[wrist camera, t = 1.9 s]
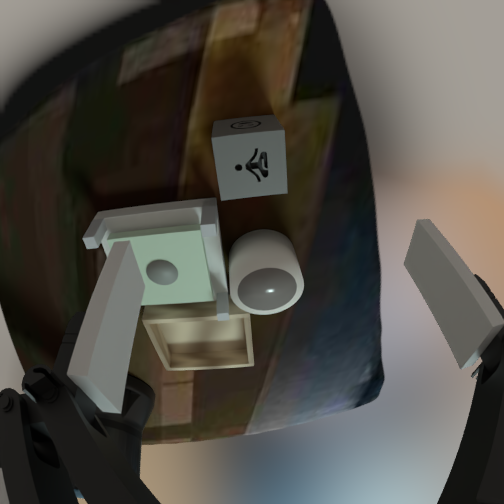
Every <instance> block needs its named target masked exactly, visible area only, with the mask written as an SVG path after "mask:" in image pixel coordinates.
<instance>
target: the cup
mask: <svg viewBox="0 0 504 504" xmlns="http://www.w3.org/2000/svg"><path fill="white" fill-rule="evenodd" d="M229 278H230V295H231V298H232V300H233V302H234V303H235V304H236V305H237V306H238V307H239V308H240V309H242V310H244V311H246V312H249V313H253V314H262V315H264V314H273V313H277V312H280V311H283V310H285V309H287V308H289V307H290V306H292V305H293V304H294V303H295V302H296V301H297V300H298V299H299V298H300V296H301V294H302V292H303V289H304V281H303V277H302V274H301V270H300V267H299V264H298V260H297V257H296V254H295V250H294V247H293V244H292V243H291V241H290V240H289V239H288V238H287V237H286V236H285V235H283V234H282V233H280V232H277V231H274V230H267V229H261V230H255V231H251V232H248V233H246V234H244V235H243V236H241V237H240V238H238V239H237V240H236V241H235V242H234V244H233V245H232V247H231V249H230V252H229Z"/></svg>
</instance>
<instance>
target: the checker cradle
mask: <svg viewBox="0 0 504 504" xmlns="http://www.w3.org/2000/svg"><path fill="white" fill-rule="evenodd" d="M194 224H200V226H201V232H202V237H203V239H204V245H205V250H206V256H207V262H208V267H209V273H210V278H211V283H212V289H213V294H214V297H213V301H217V318H218V321H225V320H229V295H228V284H227V277H226V270H225V263H224V255H223V248H222V240H221V232H220V225H219V217H218V209H217V201H216V197H215V198H205V199H195V200H186V201H176V202H168V203H159V204H151V205H143V206H136V207H128V208H121V209H114V210H107V211H100V212H98V213H97V214H96V216H95V218H94V219H93V221H92V223H91V224H90V226H89V228H88V230H87V231H86V233H85V235H84V237H83V240H84V243H85V245H86V248H87V249H91V248H98V247H99V245H100V243H102V245H103V248H104V250H105V253H106V255H107V257H108V255H109V253H110V247H109V244H108V242H107V238H108V236H109V234H111V233H120V232H128V231H137V230H146V229H155V228H165V227H174V226H184V225H194Z"/></svg>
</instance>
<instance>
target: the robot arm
mask: <svg viewBox="0 0 504 504" xmlns="http://www.w3.org/2000/svg"><path fill="white" fill-rule="evenodd" d="M404 265H405V267H406V269H407V270H408V272H409V274H410V275H411V277H412V279H413V280H414V282H415V284H416V285H417V287H418V289H419V290H420V292H421V294H422V296H423V298H424V299H425V301H426V303H427V305H428V306H429V308H430V310H431V312H432V314H433V316H434V317H435V319H436V321H437V323H438V325H439V327H440V328H441V331H442V332H443V334H444V336H445V338H446V340H447V342H448V344H449V346H450V348H451V350H452V352H453V354H454V357H455V359H456V361H457V363H458V365H459V367H460V369H463V368H466V367H469V366H471V365H473V364H474V363H475V362H476V361H477V360H478V358H479V357H481V359H482V361H483V362H482V363H481V364H480V365H479V366H478V367H477V369H476V370H475V371H474V372H473V373H472V376H471V377H472V378H473V377H474V376H475V375H476V374H477V373H478V376H477V378H476V379H477V382H476V387H475V391H474V396H473V400H472V405H471V408H470V412H469V416H468V420H467V424H466V427H465V430H464V434H463V437H462V440H461V443H460V447H459V450H458V452H457V455H456V458H455V461H454V464H453V467H452V469H451V472H450V474H449V477H448V479H447V482H446V484H445V487H444V489H443V492H442V494H441V496H440V498H439V501H438V503H437V504H504V309H503V308H502V306H501V305H500V303H499V302H498V300H497V299H495V296H494V294H493V293H492V292H491V290H490V288H489V287H488V286H487V284H486V283H485V281H483V280H482V279H481V278H480V277H479V276H478V275H476V274H475V275H473V273H472V272H471V271H470V269H469V268H468V267H467V265H466V264H465V263H464V261H463V260H462V259H461V257H460V256H459V255H458V253H457V252H456V251H455V250H454V248H453V247H452V246H451V245H450V243H449V242H448V241H447V240H446V238H445V237H444V236H443V235H442V234H441V232H440V231H439V230H438V229H437V228H436V226H435V225H434V224H433V223H432V222H431V221H430V220H429V219H423V220H417V222H416V226H415V230H414V233H413V236H412V239H411V243H410V246H409V249H408V252H407V256H406V258H405V262H404ZM144 290H145V284H144V281H143V278H142V275H141V272H140V270H139V267H138V264H137V261H136V258H135V255H134V252H133V249H132V246H131V243H130V240H128V241H118V242H114V243H113V246H112V248H111V250H110V253H109V255H108V257H107V260H106V262H105V264H104V267H103V269H102V272H101V274H100V277H99V279H98V282H97V284H96V287H95V290H94V292H93V295H92V298H91V300H90V303H89V306H88V309H87V311H86V312H76V314H75V315H74V316H73V317H72V319H71V320H70V321H69V323H68V326H67V328H66V331H65V335H64V337H63V340H62V344H61V346H60V349H59V352H58V355H57V358H56V361H55V364H54V367H53V371H52V370H51V369H50V368H49V367H48V366H46V365H44V364H38V365H35V366H33V367H31V368H30V369H29V370H28V371H27V372H26V374H25V375H24V377H23V381H22V390H23V391H24V392H25V394H21V395H20V394H19V393H17V392H16V391H15V390H14V389H11V388H6V389H4V390H2V391H1V392H0V504H79V503H78V500H77V497H78V498H84V499H85V500H86V502H87V503H88V504H161V503H160V502H159V501H158V500H157V499H156V498H155V496H154V495H153V494H152V493H151V491H150V490H149V489H148V488H147V487H146V485H145V484H144V483H143V482H142V480H141V479H140V460H141V443H142V432H143V429H144V427H145V425H146V423H147V420H148V418H149V416H150V414H151V412H152V410H153V408H154V402H155V393H154V391H153V390H152V389H151V388H150V387H149V386H148V385H147V384H145V383H144V382H142V381H140V380H138V379H136V378H134V377H132V376H129V375H127V372H128V367H129V361H130V356H131V350H132V345H133V340H134V335H135V330H136V325H137V321H138V316H139V312H140V307H141V303H142V298H143V294H144Z"/></svg>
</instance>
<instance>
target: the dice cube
mask: <svg viewBox="0 0 504 504" xmlns="http://www.w3.org/2000/svg"><path fill="white" fill-rule="evenodd" d="M211 139H212V145H213V152H214V158H215V165H216V171H217V177H218V184H219V190H220V196H221V201H223V200H231V199H239V198H247V197H256V196H265V195H274V194H284V193H287V171H286V150H285V131H284V129H283V127H282V126H281V124H280V123H279V121H278V120H277V118H276V117H275V115H262V116H252V117H243V118H234V119H226V120H218V121H214V123H213V130H212V137H211Z"/></svg>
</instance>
